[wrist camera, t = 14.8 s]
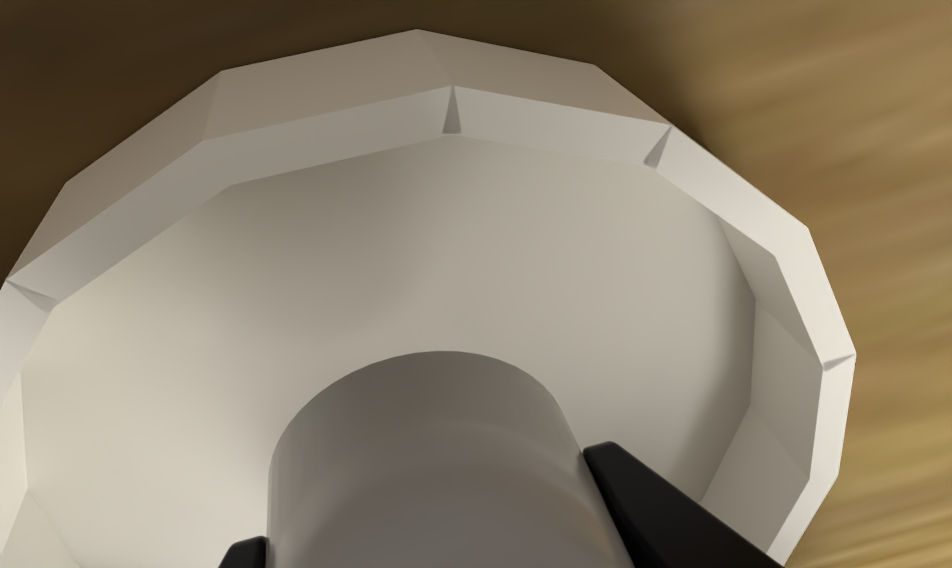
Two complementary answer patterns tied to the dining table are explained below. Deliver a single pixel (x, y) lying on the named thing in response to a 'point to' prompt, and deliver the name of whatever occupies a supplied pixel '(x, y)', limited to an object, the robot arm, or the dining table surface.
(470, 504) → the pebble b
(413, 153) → the bowl
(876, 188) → the dining table surface
